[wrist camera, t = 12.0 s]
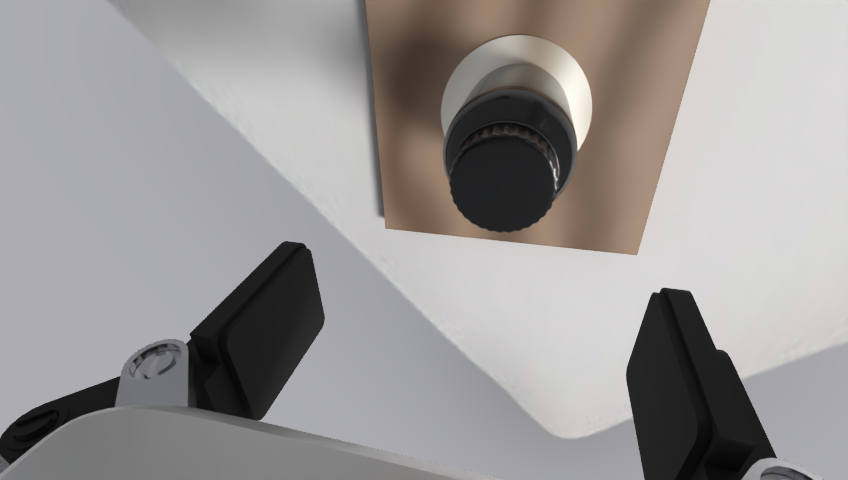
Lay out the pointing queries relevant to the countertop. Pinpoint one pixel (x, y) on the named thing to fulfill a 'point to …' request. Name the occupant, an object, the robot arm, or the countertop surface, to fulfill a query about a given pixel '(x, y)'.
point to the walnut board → (581, 81)
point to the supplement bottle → (510, 148)
